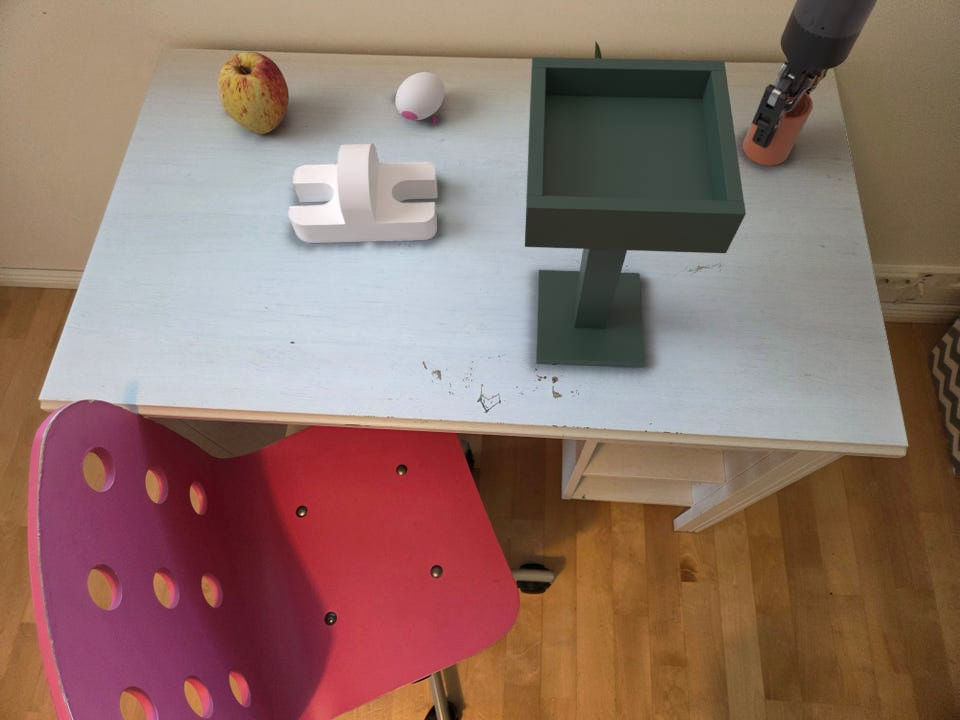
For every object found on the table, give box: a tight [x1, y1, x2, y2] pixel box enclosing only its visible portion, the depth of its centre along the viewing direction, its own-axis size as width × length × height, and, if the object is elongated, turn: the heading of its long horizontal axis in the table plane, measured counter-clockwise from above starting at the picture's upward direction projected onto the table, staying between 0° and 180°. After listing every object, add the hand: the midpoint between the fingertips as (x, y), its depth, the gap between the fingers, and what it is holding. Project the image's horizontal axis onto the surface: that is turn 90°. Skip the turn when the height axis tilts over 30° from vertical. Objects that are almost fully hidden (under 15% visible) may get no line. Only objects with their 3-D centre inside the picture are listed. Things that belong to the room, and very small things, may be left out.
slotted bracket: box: [287, 143, 439, 244], centre depth 85 cm, size 18×10×10 cm, turn 91°
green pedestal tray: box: [524, 56, 747, 368], centre depth 68 cm, size 16×16×30 cm
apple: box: [217, 51, 290, 135], centre depth 92 cm, size 9×9×10 cm
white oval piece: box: [394, 71, 446, 124], centre depth 95 cm, size 8×8×7 cm
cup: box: [742, 92, 814, 167], centre depth 89 cm, size 6×6×8 cm
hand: (775, 127), depth 89 cm, fingers open, 6 cm apart
